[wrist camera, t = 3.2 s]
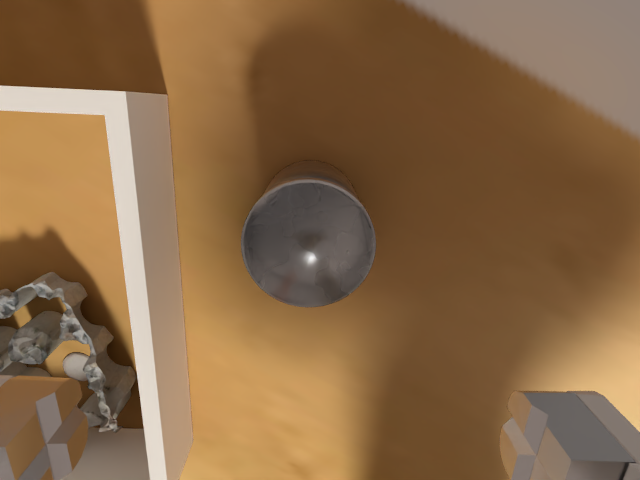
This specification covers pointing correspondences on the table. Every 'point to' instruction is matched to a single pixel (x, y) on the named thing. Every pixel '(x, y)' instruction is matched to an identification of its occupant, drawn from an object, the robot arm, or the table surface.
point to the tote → (137, 278)
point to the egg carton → (49, 332)
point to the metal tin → (308, 236)
